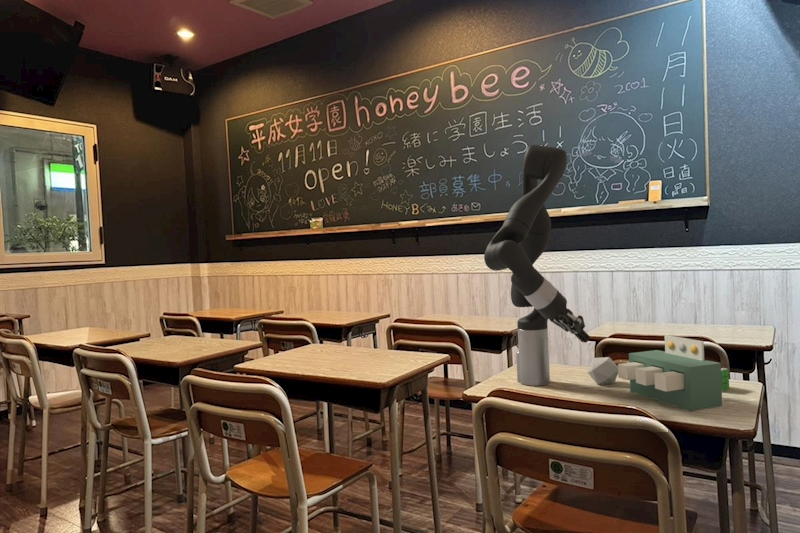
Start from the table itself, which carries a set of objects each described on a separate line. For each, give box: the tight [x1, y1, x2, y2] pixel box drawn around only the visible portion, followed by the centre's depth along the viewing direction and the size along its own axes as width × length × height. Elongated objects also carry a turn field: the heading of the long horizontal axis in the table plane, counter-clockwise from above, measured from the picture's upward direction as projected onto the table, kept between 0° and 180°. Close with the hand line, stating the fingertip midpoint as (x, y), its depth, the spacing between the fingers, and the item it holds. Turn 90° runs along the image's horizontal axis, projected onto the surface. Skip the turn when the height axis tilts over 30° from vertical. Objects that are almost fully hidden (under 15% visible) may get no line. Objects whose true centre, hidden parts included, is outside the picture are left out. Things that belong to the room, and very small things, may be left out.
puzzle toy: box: [721, 367, 730, 391], centre depth 160 cm, size 6×6×6 cm
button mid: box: [635, 366, 664, 386], centre depth 150 cm, size 4×6×4 cm, turn 107°
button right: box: [654, 371, 685, 392], centre depth 143 cm, size 4×6×4 cm, turn 107°
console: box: [628, 334, 723, 412], centre depth 152 cm, size 22×10×16 cm, turn 17°
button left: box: [617, 362, 645, 381], centre depth 156 cm, size 4×6×4 cm, turn 107°
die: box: [587, 356, 618, 386], centre depth 172 cm, size 8×9×10 cm
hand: (586, 339), depth 151 cm, fingers closed
